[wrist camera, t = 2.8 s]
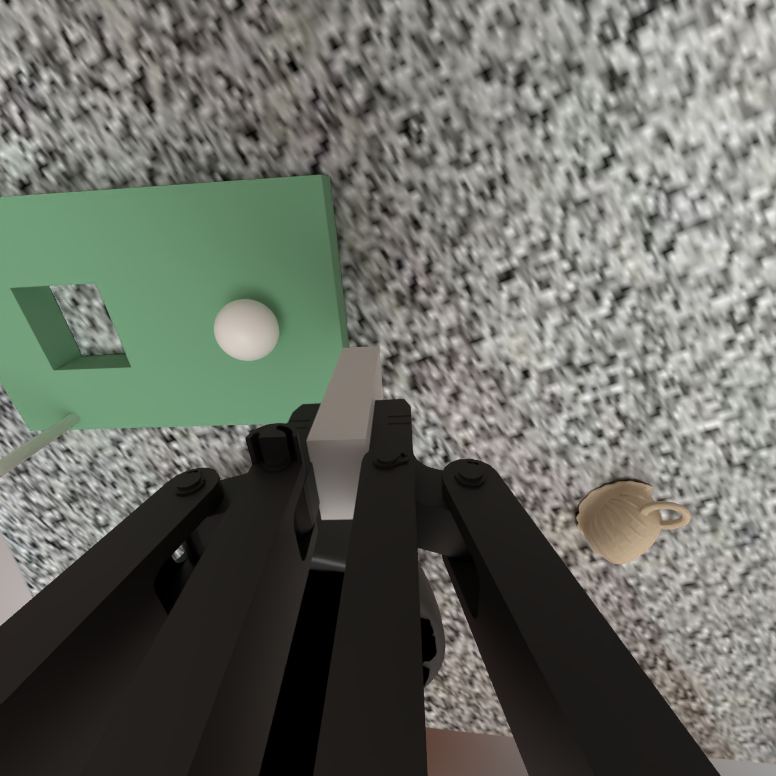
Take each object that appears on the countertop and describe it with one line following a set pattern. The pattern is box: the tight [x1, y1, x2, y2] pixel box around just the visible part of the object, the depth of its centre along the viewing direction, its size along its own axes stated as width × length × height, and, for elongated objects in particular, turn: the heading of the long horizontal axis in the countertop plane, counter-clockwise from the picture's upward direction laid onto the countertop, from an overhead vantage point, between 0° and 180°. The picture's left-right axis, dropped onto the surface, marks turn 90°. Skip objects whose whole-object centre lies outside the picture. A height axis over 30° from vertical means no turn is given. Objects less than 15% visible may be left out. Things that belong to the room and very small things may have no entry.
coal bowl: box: [259, 508, 445, 776], centre depth 26 cm, size 20×20×19 cm
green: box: [0, 175, 349, 477], centre depth 18 cm, size 15×24×16 cm, turn 93°
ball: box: [214, 299, 279, 361], centre depth 21 cm, size 4×4×4 cm
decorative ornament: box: [576, 481, 691, 564], centre depth 29 cm, size 4×8×5 cm, turn 150°
